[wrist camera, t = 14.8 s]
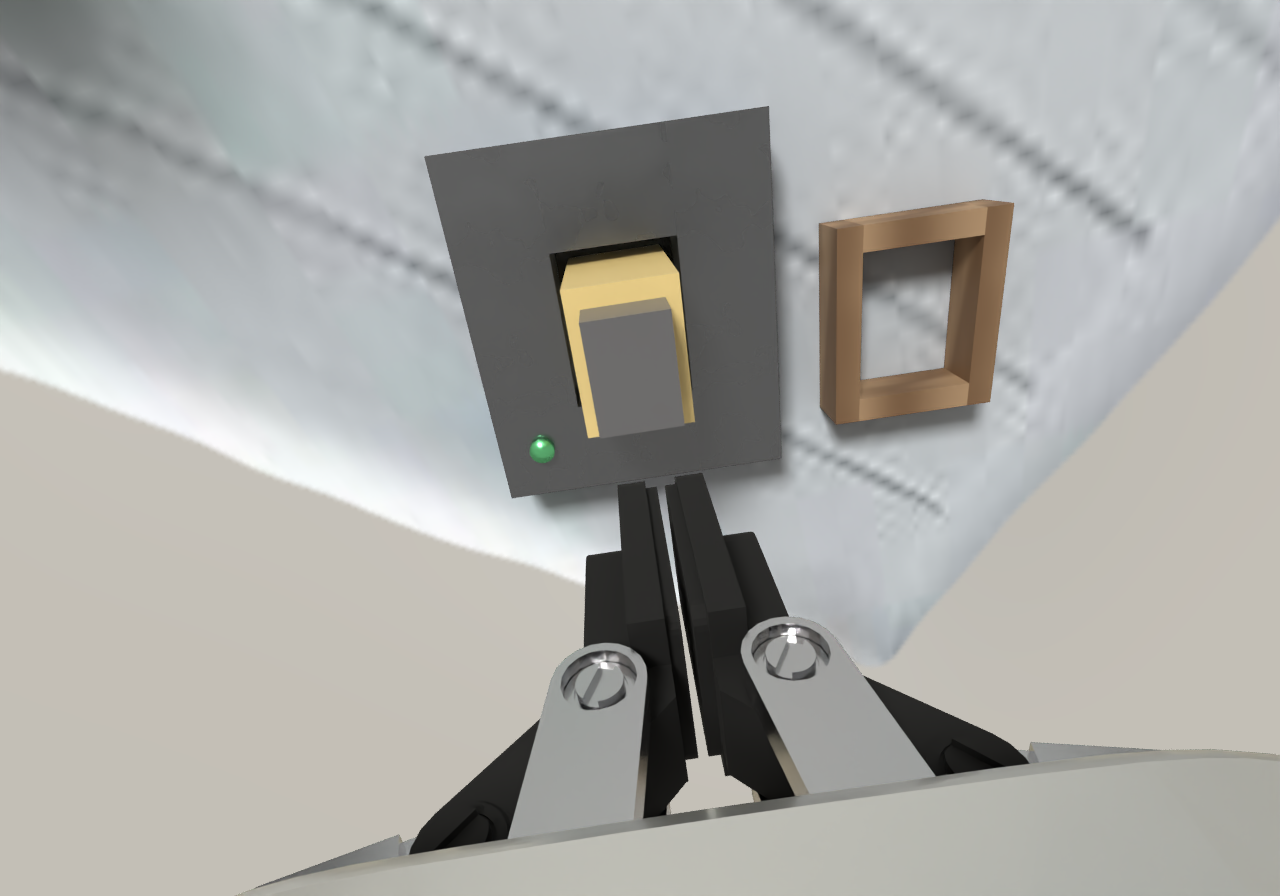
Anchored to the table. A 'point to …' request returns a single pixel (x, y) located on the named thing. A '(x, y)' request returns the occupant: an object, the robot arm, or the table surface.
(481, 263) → the port
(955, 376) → the frame
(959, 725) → the robot arm
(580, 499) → the table surface
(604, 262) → the plug
